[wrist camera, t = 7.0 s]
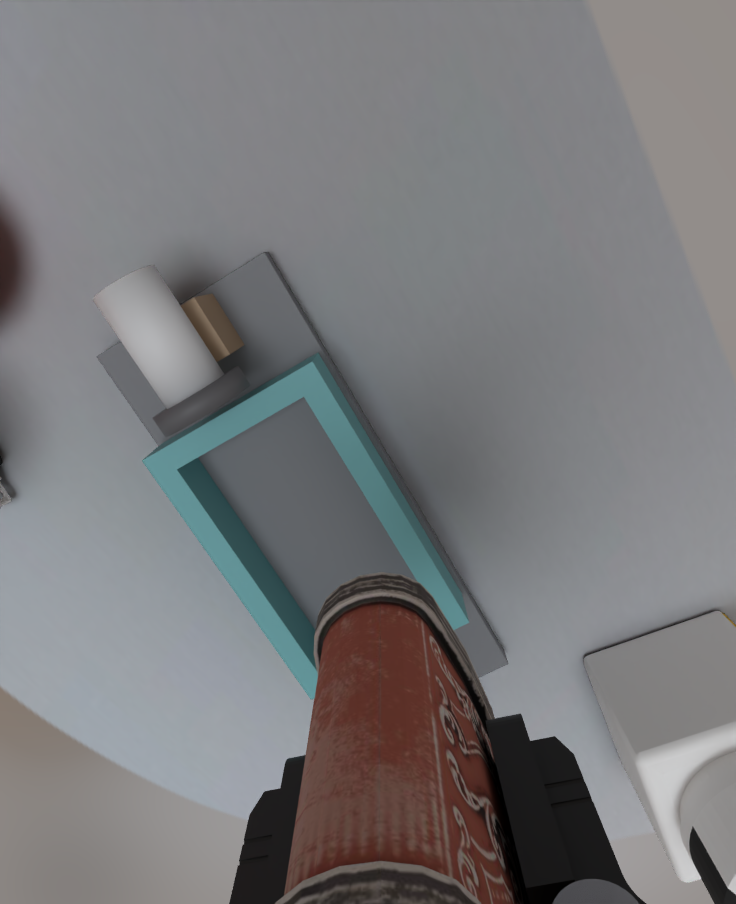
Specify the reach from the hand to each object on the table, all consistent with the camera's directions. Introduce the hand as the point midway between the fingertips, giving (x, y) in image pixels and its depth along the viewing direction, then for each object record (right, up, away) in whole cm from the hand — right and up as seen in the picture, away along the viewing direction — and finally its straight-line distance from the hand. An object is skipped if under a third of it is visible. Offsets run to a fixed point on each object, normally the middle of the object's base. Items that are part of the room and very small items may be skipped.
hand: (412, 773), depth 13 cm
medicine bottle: (+14, -5, +20) cm, 25 cm away
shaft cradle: (-3, +4, +17) cm, 18 cm away
